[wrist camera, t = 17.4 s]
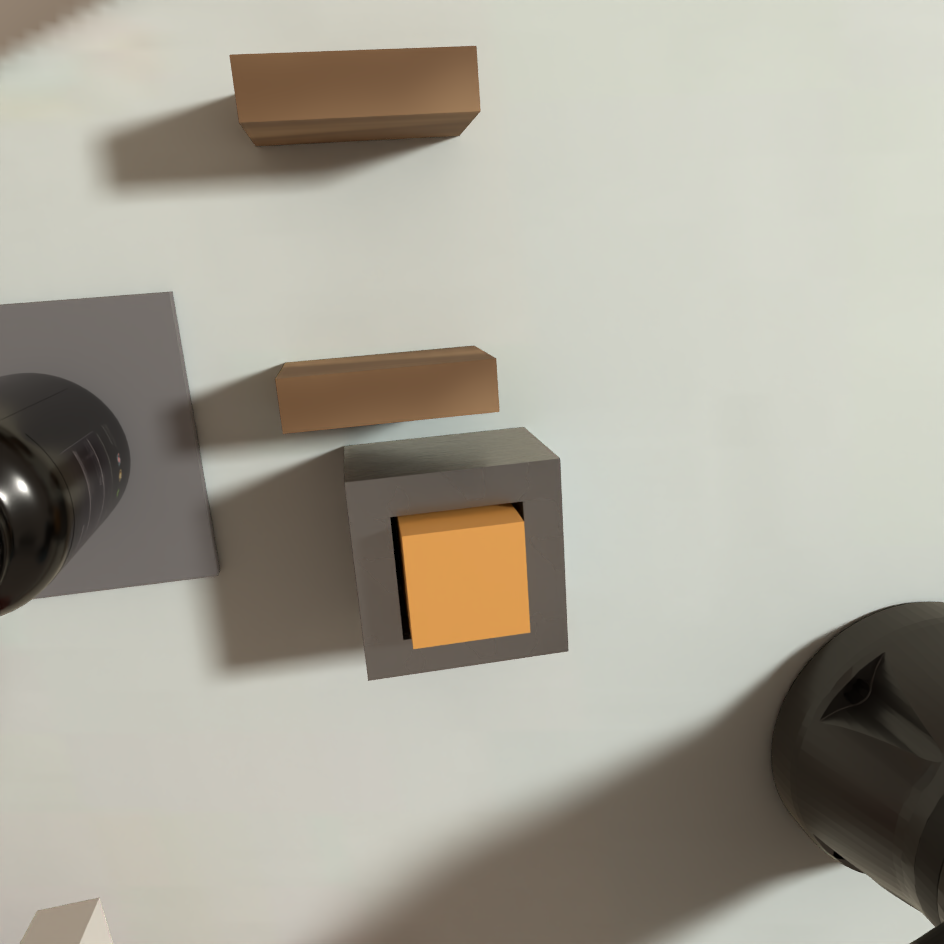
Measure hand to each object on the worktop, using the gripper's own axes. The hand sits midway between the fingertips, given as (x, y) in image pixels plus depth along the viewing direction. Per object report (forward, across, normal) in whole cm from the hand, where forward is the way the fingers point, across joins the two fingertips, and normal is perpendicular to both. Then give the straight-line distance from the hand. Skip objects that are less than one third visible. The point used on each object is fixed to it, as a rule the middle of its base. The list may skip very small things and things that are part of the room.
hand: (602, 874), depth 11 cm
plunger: (+23, 0, +2) cm, 23 cm away
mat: (+24, +16, -4) cm, 29 cm away
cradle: (+24, +1, -10) cm, 26 cm away
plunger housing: (+24, 0, +2) cm, 25 cm away
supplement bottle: (+24, +15, -4) cm, 28 cm away
